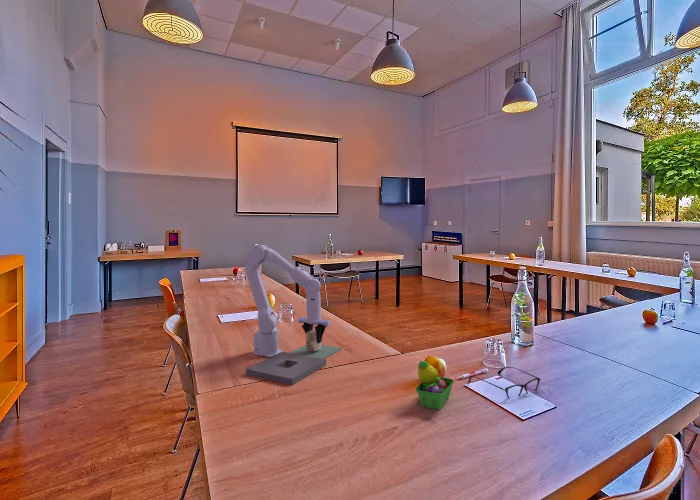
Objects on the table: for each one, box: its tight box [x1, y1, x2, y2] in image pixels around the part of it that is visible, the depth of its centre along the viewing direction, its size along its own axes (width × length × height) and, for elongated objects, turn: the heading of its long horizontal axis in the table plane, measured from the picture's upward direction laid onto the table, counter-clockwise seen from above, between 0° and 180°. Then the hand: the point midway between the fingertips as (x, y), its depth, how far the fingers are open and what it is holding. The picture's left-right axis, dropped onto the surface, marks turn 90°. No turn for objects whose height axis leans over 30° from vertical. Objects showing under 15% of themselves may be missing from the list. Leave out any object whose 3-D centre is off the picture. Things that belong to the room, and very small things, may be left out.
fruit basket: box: [415, 360, 455, 411], centre depth 105 cm, size 11×9×11 cm
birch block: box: [305, 329, 323, 352], centre depth 149 cm, size 4×5×7 cm
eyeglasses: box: [468, 366, 541, 399], centre depth 115 cm, size 16×16×4 cm
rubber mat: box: [289, 344, 343, 360], centre depth 150 cm, size 16×16×1 cm
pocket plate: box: [245, 351, 327, 386], centre depth 132 cm, size 20×20×2 cm
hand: (314, 342), depth 150 cm, fingers closed on birch block, 4 cm apart
